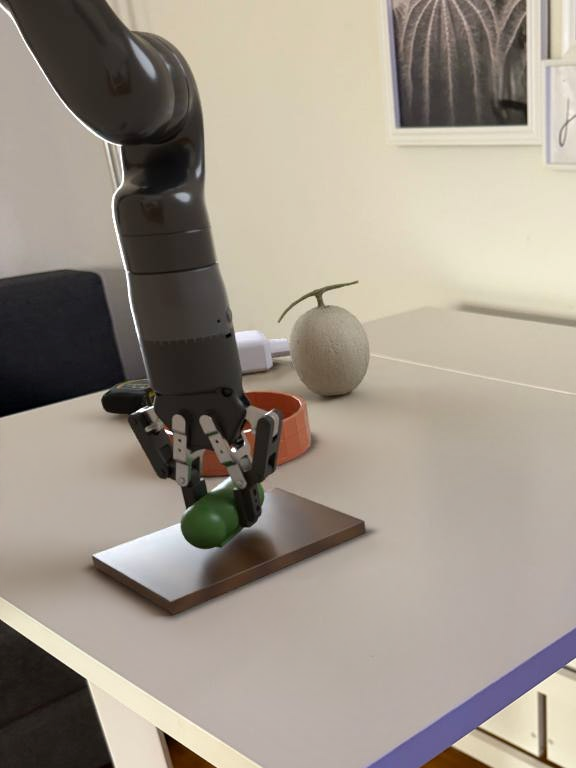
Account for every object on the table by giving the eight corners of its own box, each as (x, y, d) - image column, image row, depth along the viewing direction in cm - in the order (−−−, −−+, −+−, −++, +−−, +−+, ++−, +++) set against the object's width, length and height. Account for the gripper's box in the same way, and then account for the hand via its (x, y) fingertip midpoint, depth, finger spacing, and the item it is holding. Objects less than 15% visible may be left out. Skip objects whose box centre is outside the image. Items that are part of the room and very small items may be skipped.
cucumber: (219, 558, 79) (209, 514, 77) (177, 555, 80) (166, 512, 78) (275, 507, 88) (267, 467, 86) (237, 506, 89) (228, 466, 87)
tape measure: (102, 419, 123) (95, 391, 121) (134, 404, 129) (127, 377, 127) (146, 422, 121) (139, 393, 119) (176, 406, 127) (170, 378, 125)
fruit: (288, 389, 131) (269, 276, 123) (369, 379, 133) (355, 268, 125) (292, 409, 122) (273, 290, 114) (379, 399, 124) (365, 280, 116)
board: (173, 615, 74) (170, 602, 74) (94, 567, 83) (90, 555, 83) (366, 532, 86) (364, 520, 86) (279, 498, 95) (277, 487, 94)
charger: (309, 366, 141) (209, 380, 137) (298, 353, 149) (203, 366, 145) (304, 334, 139) (202, 348, 135) (294, 323, 146) (197, 335, 142)
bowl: (213, 487, 99) (204, 447, 96) (135, 455, 109) (125, 418, 107) (340, 443, 109) (335, 405, 107) (258, 417, 120) (251, 383, 117)
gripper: (80, 337, 73) (134, 536, 82) (243, 337, 70) (281, 545, 79) (133, 316, 79) (178, 503, 88) (285, 315, 76) (316, 510, 85)
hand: (226, 522), depth 83 cm, fingers closed on cucumber, 4 cm apart
